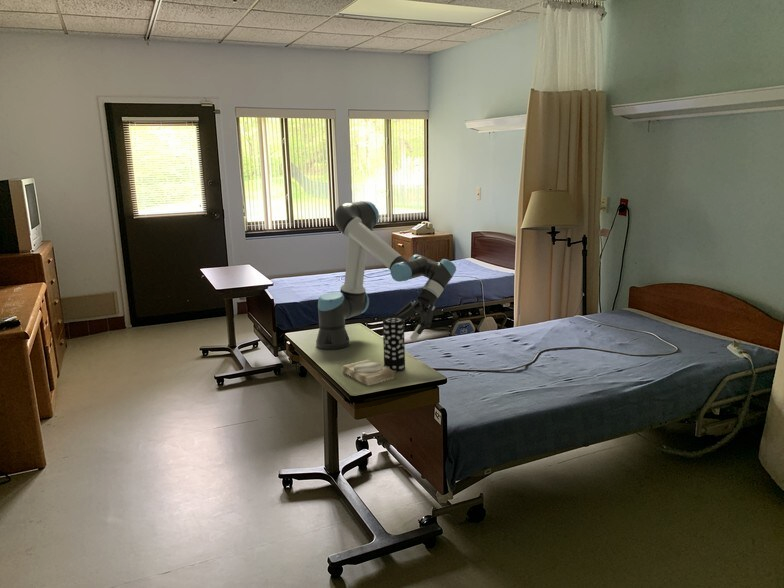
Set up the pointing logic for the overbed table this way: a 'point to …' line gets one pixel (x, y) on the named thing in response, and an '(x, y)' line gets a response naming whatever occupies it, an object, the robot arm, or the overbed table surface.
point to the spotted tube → (394, 344)
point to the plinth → (368, 372)
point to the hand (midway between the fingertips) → (401, 336)
